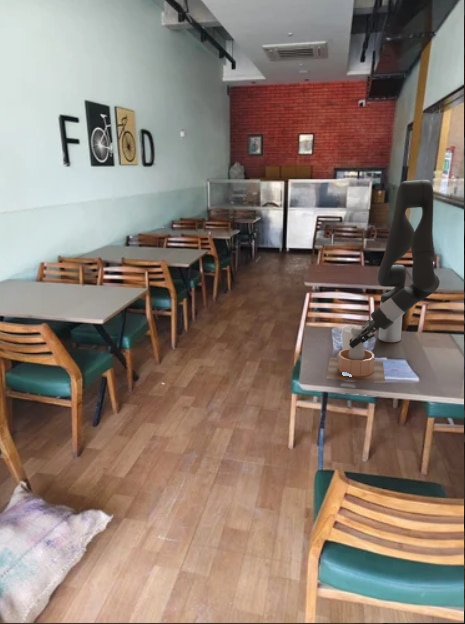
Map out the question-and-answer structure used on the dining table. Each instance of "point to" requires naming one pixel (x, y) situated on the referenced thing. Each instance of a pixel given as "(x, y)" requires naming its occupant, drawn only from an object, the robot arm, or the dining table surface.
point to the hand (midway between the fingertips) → (351, 344)
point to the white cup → (346, 336)
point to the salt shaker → (358, 350)
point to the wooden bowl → (356, 364)
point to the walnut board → (374, 377)
